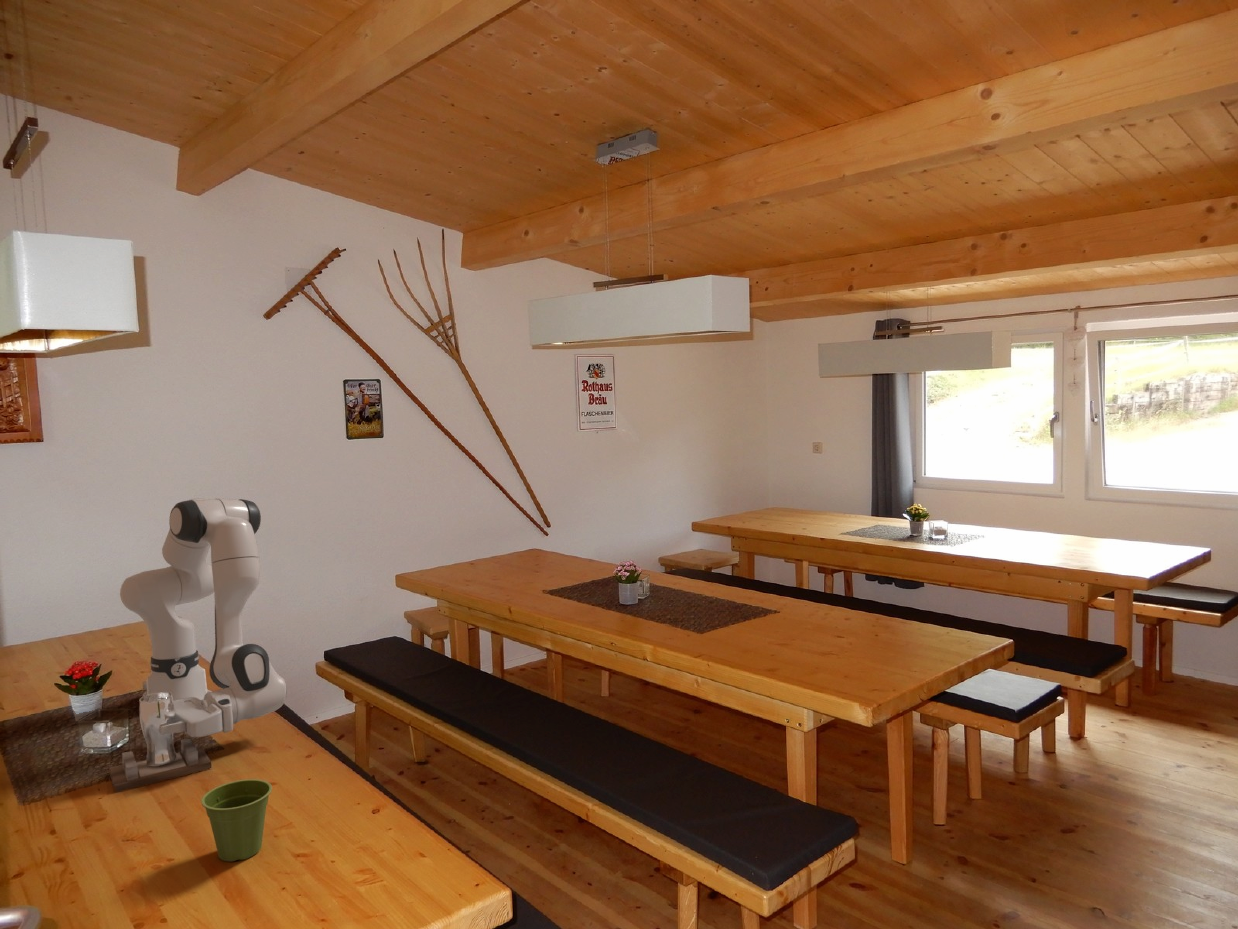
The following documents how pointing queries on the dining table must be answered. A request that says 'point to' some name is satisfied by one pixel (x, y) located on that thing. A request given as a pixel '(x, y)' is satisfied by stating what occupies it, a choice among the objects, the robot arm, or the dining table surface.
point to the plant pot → (237, 817)
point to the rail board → (158, 767)
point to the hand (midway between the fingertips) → (154, 726)
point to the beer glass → (157, 727)
